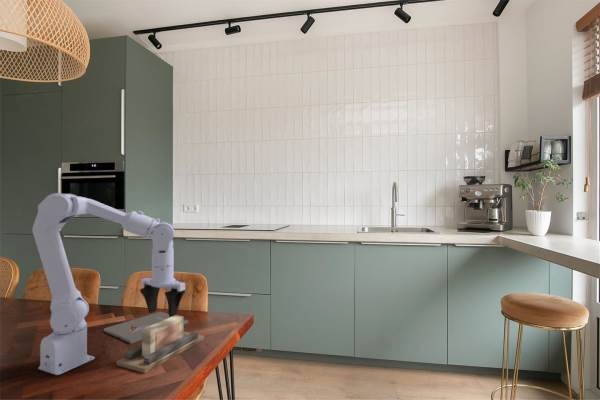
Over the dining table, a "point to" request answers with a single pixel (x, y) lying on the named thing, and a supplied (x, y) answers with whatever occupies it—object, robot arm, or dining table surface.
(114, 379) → the dining table surface
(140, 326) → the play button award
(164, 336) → the cream rectangular block
